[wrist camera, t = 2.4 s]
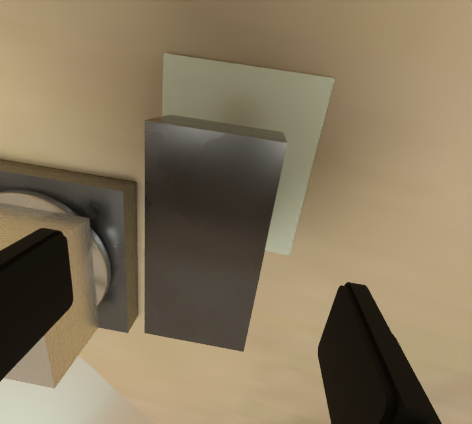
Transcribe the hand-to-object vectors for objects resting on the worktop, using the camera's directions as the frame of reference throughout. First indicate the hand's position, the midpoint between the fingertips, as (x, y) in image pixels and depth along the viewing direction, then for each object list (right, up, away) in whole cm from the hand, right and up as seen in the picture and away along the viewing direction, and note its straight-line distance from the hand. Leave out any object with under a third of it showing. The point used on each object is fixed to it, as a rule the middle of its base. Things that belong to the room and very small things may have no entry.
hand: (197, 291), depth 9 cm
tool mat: (+1, +6, +10) cm, 11 cm away
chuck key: (+1, +5, +9) cm, 11 cm away
